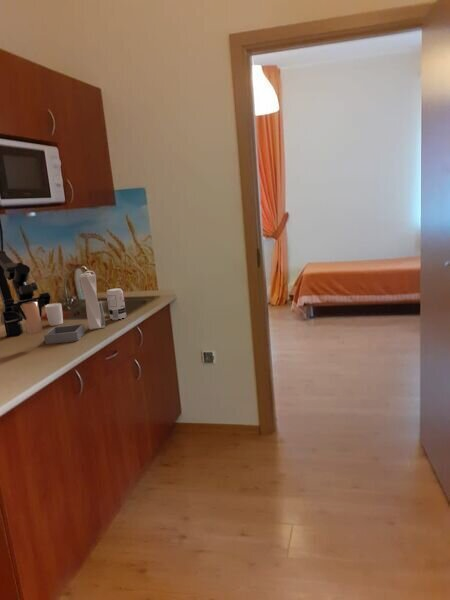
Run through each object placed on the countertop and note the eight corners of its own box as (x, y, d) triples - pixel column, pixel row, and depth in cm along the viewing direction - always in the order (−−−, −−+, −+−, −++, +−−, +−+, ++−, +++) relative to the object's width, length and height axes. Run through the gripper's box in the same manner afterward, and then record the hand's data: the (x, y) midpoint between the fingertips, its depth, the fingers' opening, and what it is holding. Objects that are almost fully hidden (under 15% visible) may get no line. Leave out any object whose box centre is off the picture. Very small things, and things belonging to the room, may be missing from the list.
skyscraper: (104, 328, 224) (95, 270, 218) (86, 331, 223) (77, 272, 217) (106, 324, 233) (97, 267, 227) (89, 326, 232) (80, 269, 226)
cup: (26, 335, 199) (20, 304, 196) (29, 331, 204) (24, 301, 202) (40, 333, 199) (35, 303, 197) (44, 329, 205) (38, 300, 202)
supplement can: (109, 318, 245) (105, 289, 242) (125, 315, 248) (121, 287, 245) (111, 321, 238) (107, 292, 235) (127, 318, 241) (123, 289, 237)
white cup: (61, 325, 240) (57, 306, 238) (45, 326, 240) (42, 307, 238) (66, 321, 247) (63, 302, 245) (51, 322, 248) (48, 303, 246)
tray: (45, 344, 208) (44, 335, 207) (55, 335, 221) (53, 326, 221) (78, 340, 208) (76, 332, 207) (85, 332, 222) (84, 323, 221)
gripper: (-1, 281, 195) (10, 311, 188) (45, 273, 205) (57, 301, 199) (-2, 297, 203) (9, 327, 196) (43, 289, 213) (55, 317, 207)
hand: (33, 317), depth 199 cm, fingers closed on cup, 6 cm apart
